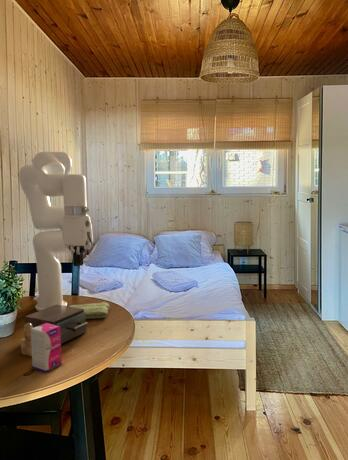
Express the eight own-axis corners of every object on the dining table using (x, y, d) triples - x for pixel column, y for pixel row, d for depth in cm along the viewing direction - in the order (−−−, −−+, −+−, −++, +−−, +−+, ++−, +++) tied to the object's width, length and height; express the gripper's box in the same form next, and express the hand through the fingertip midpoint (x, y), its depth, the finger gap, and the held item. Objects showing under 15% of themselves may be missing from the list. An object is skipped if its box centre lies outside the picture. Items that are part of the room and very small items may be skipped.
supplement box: (46, 372, 114) (44, 332, 112) (32, 368, 117) (29, 328, 116) (62, 364, 119) (60, 325, 117) (48, 360, 122) (45, 322, 120)
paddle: (20, 354, 127) (18, 323, 125) (27, 351, 129) (25, 320, 128) (32, 357, 124) (30, 325, 123) (39, 354, 126) (37, 323, 125)
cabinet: (85, 332, 143) (84, 308, 142) (54, 347, 131) (53, 321, 130) (58, 327, 149) (56, 304, 148) (26, 341, 137) (24, 316, 136)
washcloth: (65, 311, 168) (65, 303, 168) (110, 308, 169) (109, 301, 169) (59, 321, 155) (59, 313, 155) (107, 319, 156) (107, 311, 156)
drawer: (95, 333, 140) (94, 313, 140) (68, 347, 129) (67, 326, 128) (61, 326, 148) (60, 307, 147) (32, 339, 136) (31, 319, 135)
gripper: (100, 211, 140) (102, 265, 142) (66, 210, 147) (69, 261, 149) (85, 212, 133) (88, 269, 136) (51, 212, 141) (54, 265, 143)
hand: (78, 265), depth 142 cm, fingers closed
